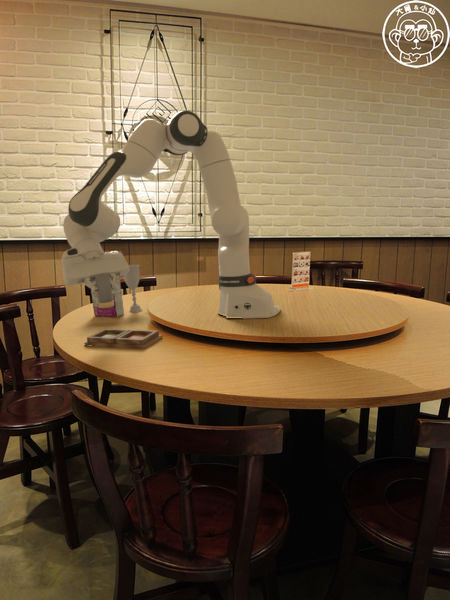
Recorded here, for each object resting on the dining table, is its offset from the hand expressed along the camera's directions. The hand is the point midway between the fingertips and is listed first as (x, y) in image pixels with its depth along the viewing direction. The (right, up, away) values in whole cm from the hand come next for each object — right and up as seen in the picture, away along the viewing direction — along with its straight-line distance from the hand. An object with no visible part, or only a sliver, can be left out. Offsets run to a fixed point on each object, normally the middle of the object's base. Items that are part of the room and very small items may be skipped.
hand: (104, 289), depth 140 cm
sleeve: (0, -5, +2) cm, 6 cm away
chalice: (+1, -8, +43) cm, 44 cm away
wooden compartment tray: (+5, -16, +2) cm, 17 cm away
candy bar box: (-8, -10, +39) cm, 41 cm away
